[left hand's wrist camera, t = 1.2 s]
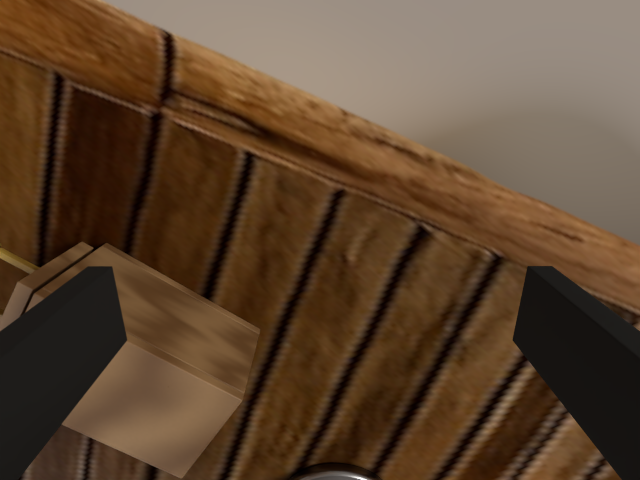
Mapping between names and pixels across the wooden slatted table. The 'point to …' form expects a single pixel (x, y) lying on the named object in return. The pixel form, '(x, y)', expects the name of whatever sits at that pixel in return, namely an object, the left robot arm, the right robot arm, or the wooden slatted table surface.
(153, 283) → the cabinet
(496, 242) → the wooden slatted table surface
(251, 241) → the wooden slatted table surface
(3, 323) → the drawer
